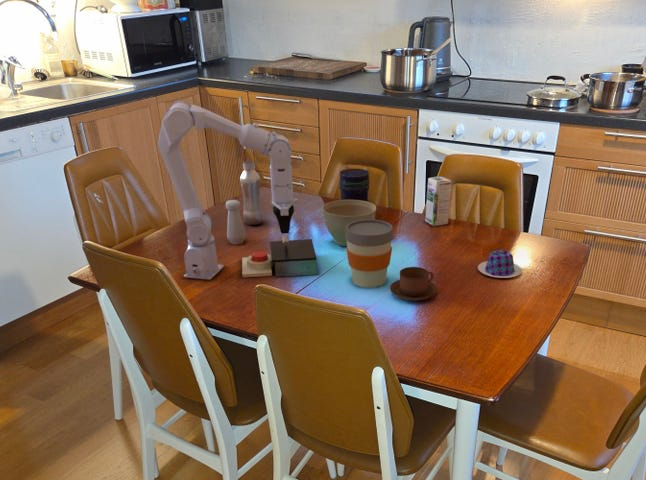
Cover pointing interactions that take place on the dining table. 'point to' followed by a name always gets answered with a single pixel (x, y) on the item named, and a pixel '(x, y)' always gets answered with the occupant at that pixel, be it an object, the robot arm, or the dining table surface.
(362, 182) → the storage jar
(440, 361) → the dining table surface
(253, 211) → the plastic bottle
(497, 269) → the pudding
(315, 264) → the dark green box
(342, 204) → the planter bowl
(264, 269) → the button base
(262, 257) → the button
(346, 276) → the dining table surface
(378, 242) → the reusable coffee cup
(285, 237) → the lid
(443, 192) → the syrup box
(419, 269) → the cup and saucer
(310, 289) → the dining table surface
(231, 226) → the salt shaker
